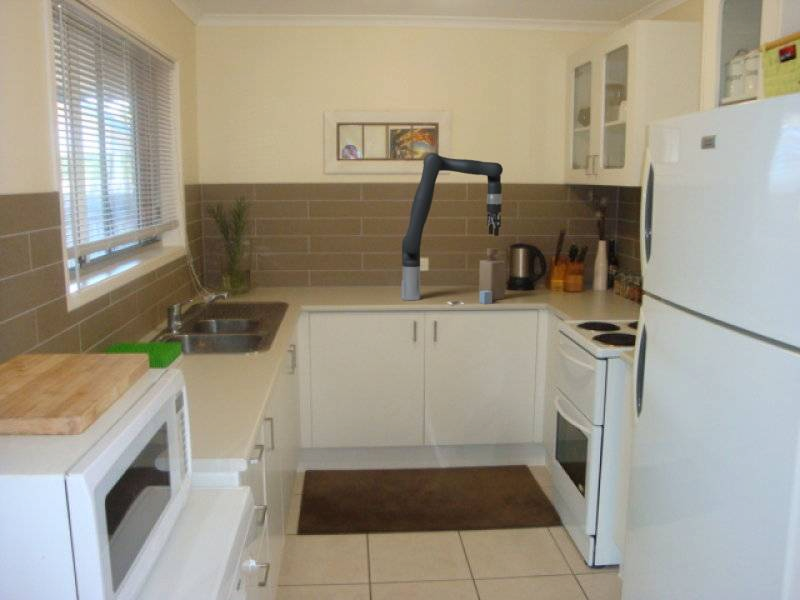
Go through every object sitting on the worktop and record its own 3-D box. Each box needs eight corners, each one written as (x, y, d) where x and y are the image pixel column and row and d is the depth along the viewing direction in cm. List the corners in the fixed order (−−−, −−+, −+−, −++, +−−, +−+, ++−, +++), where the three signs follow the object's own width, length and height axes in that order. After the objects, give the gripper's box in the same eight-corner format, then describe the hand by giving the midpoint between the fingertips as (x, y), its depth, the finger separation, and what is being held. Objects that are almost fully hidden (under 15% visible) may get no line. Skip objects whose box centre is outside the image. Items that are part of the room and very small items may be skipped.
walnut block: (489, 260, 360) (490, 249, 359) (486, 259, 364) (487, 248, 363) (498, 260, 361) (498, 248, 360) (495, 259, 365) (495, 248, 364)
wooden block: (505, 299, 364) (506, 260, 361) (490, 301, 359) (491, 262, 355) (493, 296, 373) (493, 258, 369) (478, 298, 368) (478, 259, 364)
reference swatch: (450, 305, 349) (450, 303, 349) (447, 302, 356) (447, 301, 356) (464, 304, 350) (464, 303, 350) (460, 301, 357) (460, 300, 357)
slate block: (484, 304, 351) (484, 292, 350) (479, 302, 355) (479, 291, 354) (491, 303, 353) (492, 291, 352) (486, 302, 357) (487, 290, 356)
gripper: (482, 202, 363) (482, 233, 366) (491, 203, 349) (491, 236, 352) (496, 202, 364) (495, 233, 367) (506, 203, 351) (505, 236, 354)
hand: (493, 234), depth 360 cm, fingers open, 8 cm apart
